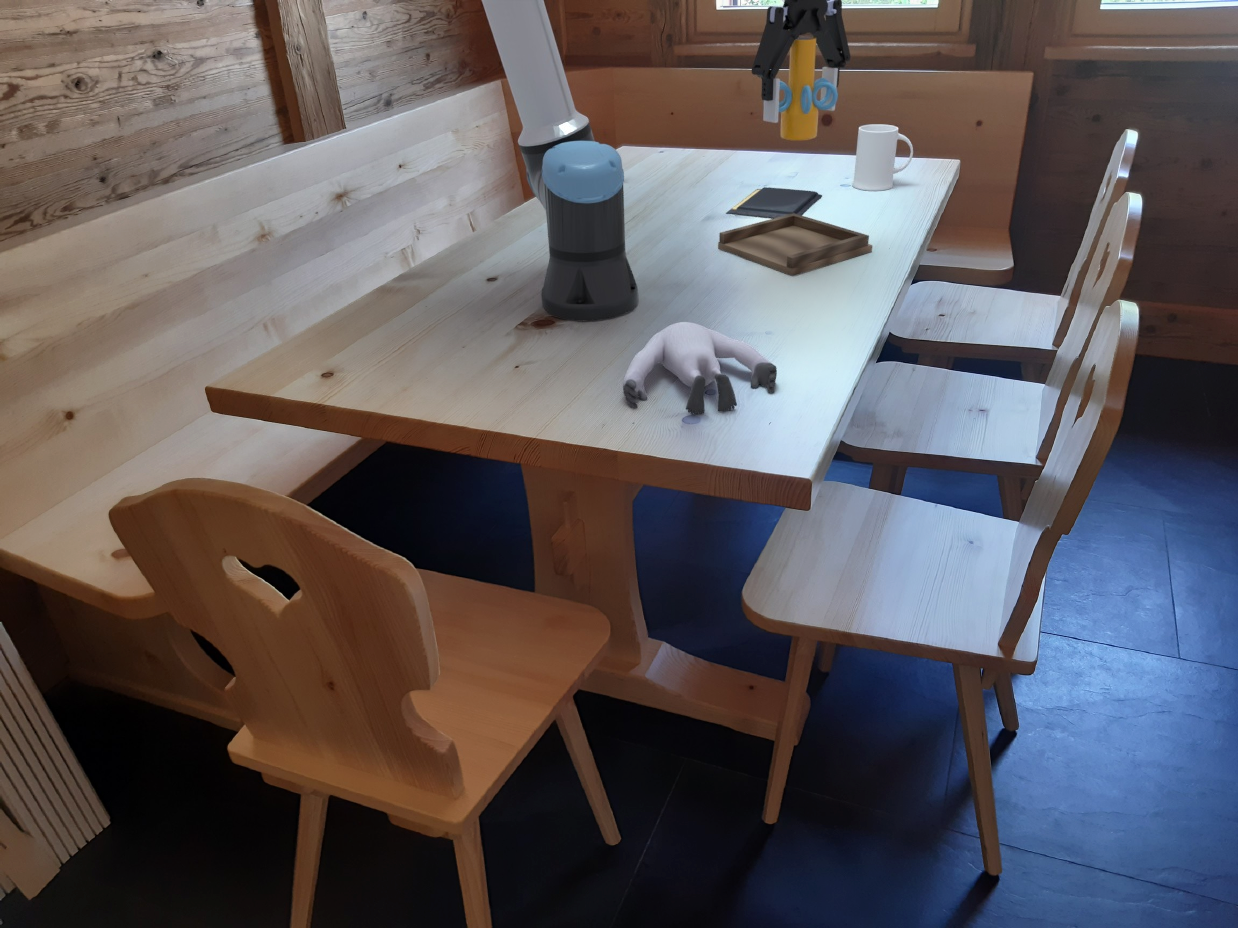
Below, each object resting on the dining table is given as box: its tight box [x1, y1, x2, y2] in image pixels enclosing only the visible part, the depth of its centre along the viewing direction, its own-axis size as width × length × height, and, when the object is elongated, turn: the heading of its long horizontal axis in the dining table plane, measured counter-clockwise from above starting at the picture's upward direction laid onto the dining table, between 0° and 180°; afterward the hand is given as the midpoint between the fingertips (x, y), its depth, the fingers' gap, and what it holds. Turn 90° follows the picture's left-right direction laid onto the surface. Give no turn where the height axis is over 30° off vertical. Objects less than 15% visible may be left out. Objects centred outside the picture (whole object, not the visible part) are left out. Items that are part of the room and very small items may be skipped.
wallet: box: [725, 186, 823, 220], centre depth 187 cm, size 20×2×15 cm
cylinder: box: [778, 36, 839, 141], centre depth 147 cm, size 12×10×15 cm
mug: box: [851, 123, 914, 192], centre depth 193 cm, size 12×8×12 cm
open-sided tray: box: [717, 213, 873, 277], centre depth 161 cm, size 19×19×3 cm
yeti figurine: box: [622, 321, 778, 416], centre depth 118 cm, size 20×7×20 cm
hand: (799, 115), depth 149 cm, fingers closed on cylinder, 12 cm apart
